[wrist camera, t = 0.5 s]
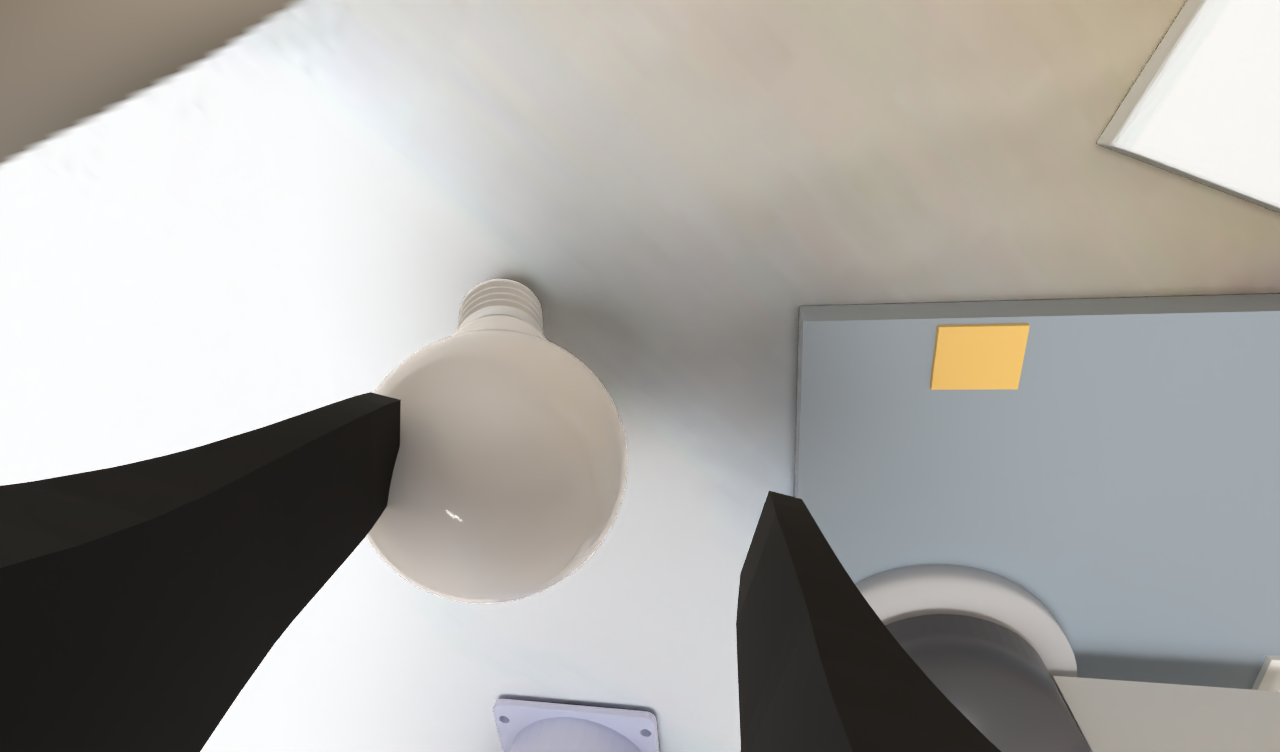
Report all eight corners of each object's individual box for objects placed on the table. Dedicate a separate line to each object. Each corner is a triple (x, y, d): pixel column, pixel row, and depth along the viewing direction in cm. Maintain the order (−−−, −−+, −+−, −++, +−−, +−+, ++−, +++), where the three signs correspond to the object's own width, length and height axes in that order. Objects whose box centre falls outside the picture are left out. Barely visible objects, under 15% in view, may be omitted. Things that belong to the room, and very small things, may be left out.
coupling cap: (832, 743, 24) (843, 826, 21) (842, 608, 21) (857, 683, 18) (1263, 784, 21) (1338, 883, 19) (1341, 636, 19) (1441, 727, 16)
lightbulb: (613, 354, 23) (673, 617, 14) (449, 399, 23) (405, 690, 14) (565, 192, 19) (606, 412, 10) (368, 246, 19) (239, 512, 10)
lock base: (1251, 750, 24) (1303, 817, 22) (787, 711, 28) (791, 765, 25) (1478, 288, 17) (1591, 318, 15) (799, 306, 20) (806, 333, 18)
